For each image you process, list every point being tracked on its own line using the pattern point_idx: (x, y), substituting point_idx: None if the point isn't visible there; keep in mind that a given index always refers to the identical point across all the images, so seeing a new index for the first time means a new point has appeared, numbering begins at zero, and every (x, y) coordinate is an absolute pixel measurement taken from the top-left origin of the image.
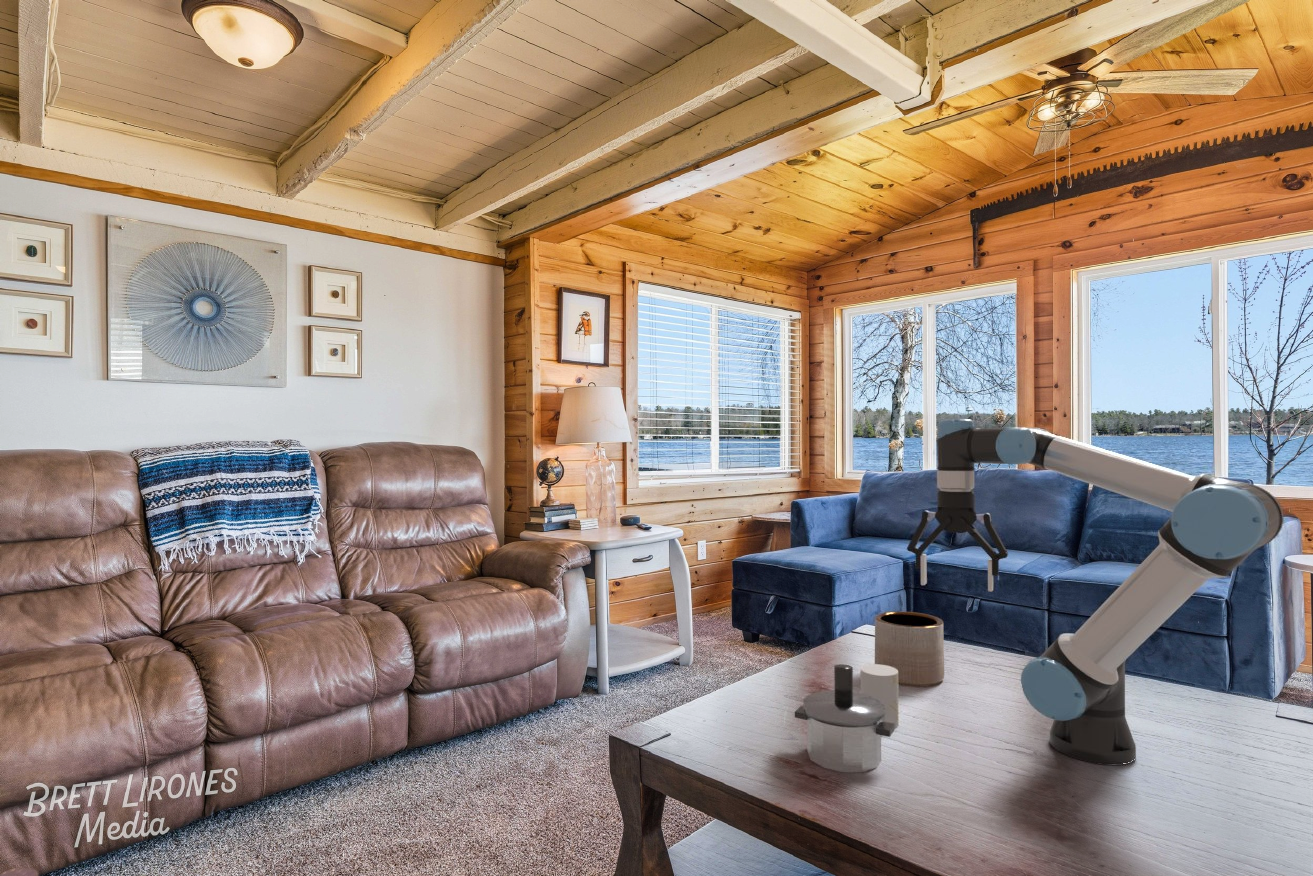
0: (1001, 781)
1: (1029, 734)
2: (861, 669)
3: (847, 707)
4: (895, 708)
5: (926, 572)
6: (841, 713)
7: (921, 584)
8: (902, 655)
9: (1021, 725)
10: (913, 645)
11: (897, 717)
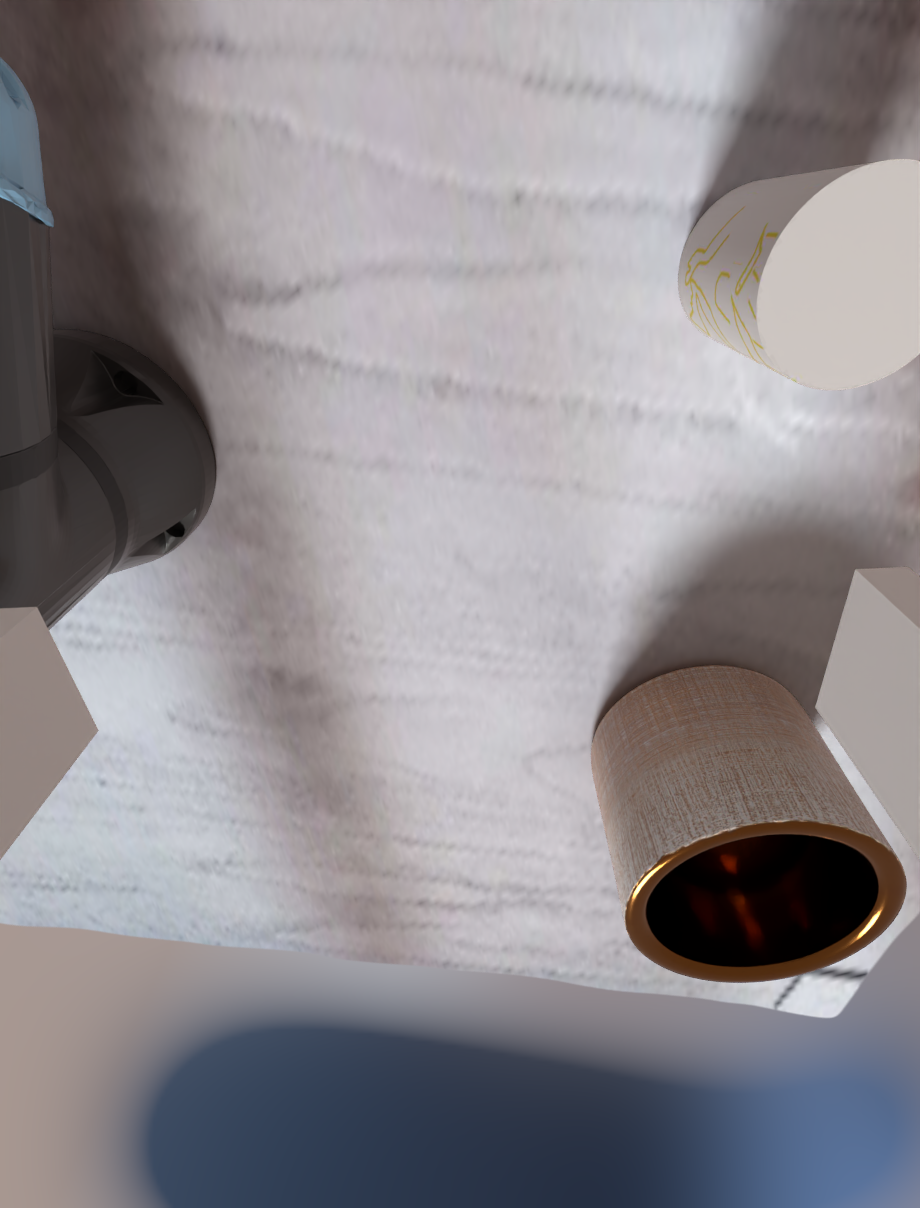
0: None
1: (278, 469)
2: None
3: None
4: (710, 246)
5: (897, 817)
6: None
7: (902, 571)
8: (738, 729)
9: (318, 530)
10: (710, 767)
11: (690, 265)
